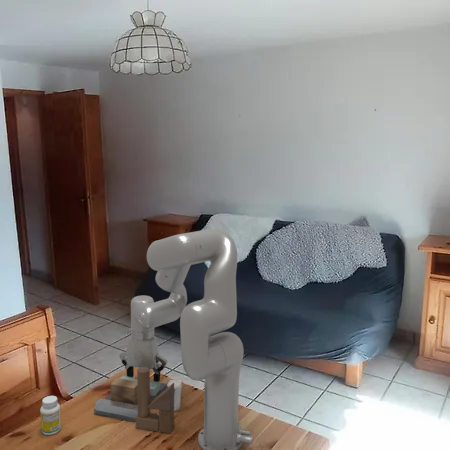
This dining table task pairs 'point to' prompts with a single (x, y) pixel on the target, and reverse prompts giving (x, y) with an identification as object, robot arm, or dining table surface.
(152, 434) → the dining table surface
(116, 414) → the vise base
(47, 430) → the supplement bottle
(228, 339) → the robot arm
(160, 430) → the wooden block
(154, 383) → the block
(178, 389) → the milkshake
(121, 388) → the walnut block
